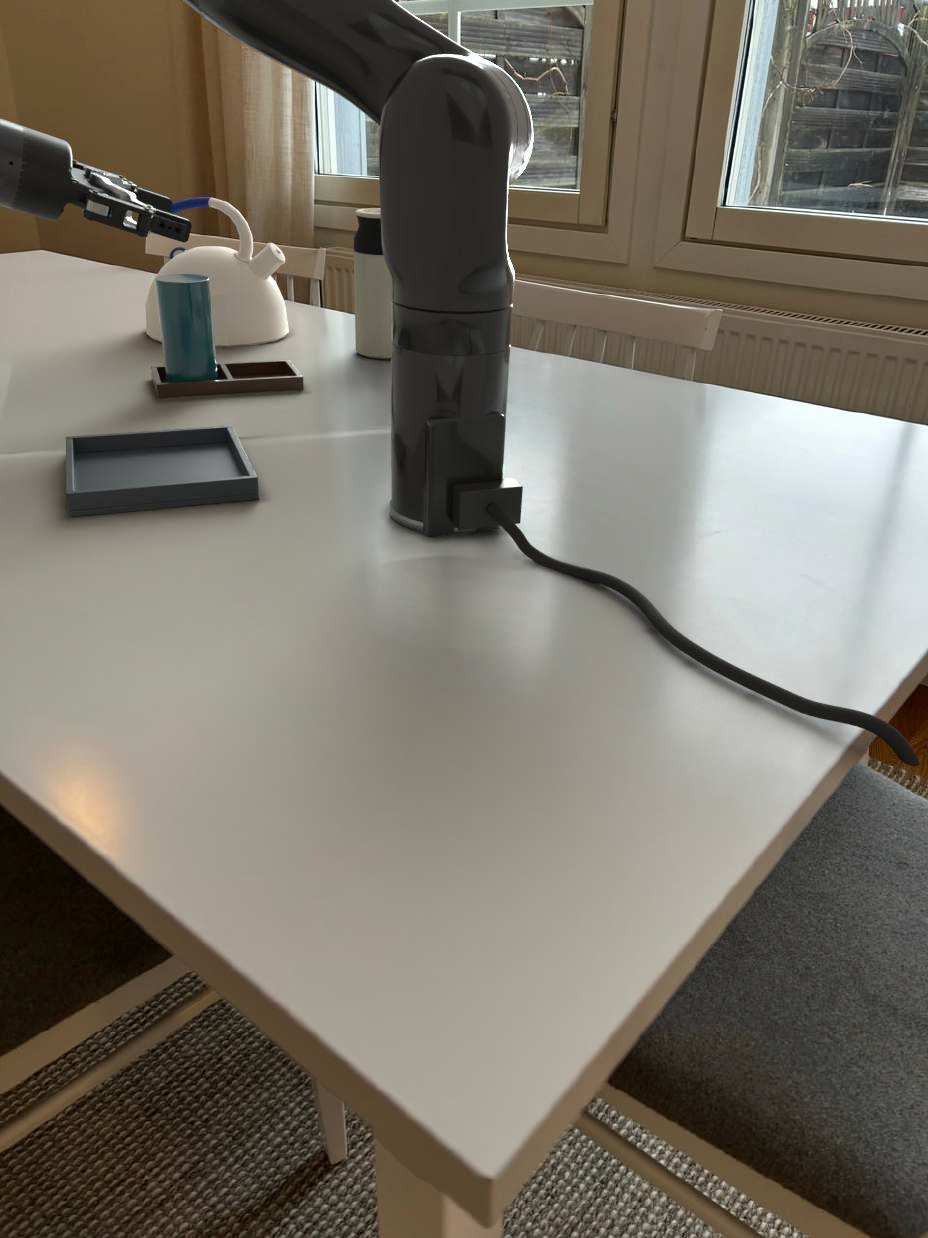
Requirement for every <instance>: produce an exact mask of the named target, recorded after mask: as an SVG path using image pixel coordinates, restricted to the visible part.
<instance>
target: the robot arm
mask: <svg viewBox="0 0 928 1238" xmlns="http://www.w3.org/2000/svg"><path fill="white" fill-rule="evenodd" d="M181 1H182V2H183V3H184V4H186V6H188V7H189V8H191V9H192V10H193V11H194V12H196V13H197V14H198V15H200V16H201V17H202V18H204V19H205V20H206V21H207V22H208V23H210V24H211V25H212V26H214V27H215V28H216V29H218V30H220V31H221V32H223V33H224V34H226V35H227V36H228V37H230V38H232V39H234V40H235V41H236V42H238V43H240V44H242V45H243V46H245V47H248V48H249V49H251V50H253V51H254V52H256V53H258V54H260V55H262V56H264V57H266V58H268V59H269V60H272V61H273V62H275V63H277V64H279V65H281V66H283V67H284V68H286V69H289V70H291V71H293V72H295V73H297V74H299V75H301V76H303V77H305V78H307V79H310V80H311V81H313V82H315V83H317V84H320V85H322V86H323V87H325V88H327V89H329V90H330V91H332V92H333V93H335V94H338V95H339V96H341V97H342V98H343V99H345V100H346V101H348V102H349V103H350V104H351V105H353V106H354V107H356V108H357V109H359V111H360V112H362V113H363V114H364V115H366V116H367V117H368V118H369V119H370V120H372V121H373V122H374V123H375V124H376V125H377V126H378V127H379V132H378V184H379V208H380V212H381V236H382V249H383V255H384V260H385V263H386V266H387V269H388V271H389V274H390V279H391V299H392V301H391V359H390V469H391V470H390V476H391V478H390V480H391V481H390V484H391V485H390V486H391V488H390V489H391V491H390V492H391V493H390V494H391V495H390V496H391V498H390V501H389V513H390V517H392V519H393V520H394V521H395V522H397V523H399V525H402V526H403V527H406V528H408V529H412V530H415V531H419V532H422V533H424V534H425V535H426V537H428V538H437V537H444V536H452V535H453V536H454V535H462V534H471V533H480V532H488V531H496V530H497V531H498V530H500V529H501V528H502V529H503V530H504V531H505V532H506V533H507V534H508V535H509V536H510V537H511V539H512V540H513V542H514V543H515V544H516V546H517V548H518V549H519V550H520V552H521V553H522V554H523V555H524V556H525V557H528V558H529V559H530V560H532V561H533V562H535V563H536V564H538V565H540V566H542V567H546V568H548V569H549V570H554V571H556V572H559V573H562V574H565V575H567V576H571V577H574V578H577V579H580V580H585V581H589V582H592V583H596V584H599V585H602V586H605V587H606V588H609V589H612V590H613V591H614V592H615V591H616V592H617V593H619V594H620V595H621V596H623V597H625V598H626V599H627V600H628V601H630V602H631V603H632V604H633V605H635V606H636V608H638V610H640V612H641V613H642V614H643V615H644V617H645V618H646V619H647V620H648V621H649V622H650V624H651V625H652V626H653V627H654V628H655V629H656V631H657V632H658V633H659V634H660V635H662V637H663V638H664V639H665V640H667V641H668V642H669V643H670V644H671V645H673V646H674V647H675V648H677V649H678V650H679V651H680V652H682V653H683V654H685V655H687V656H688V657H690V658H691V659H693V660H694V661H696V662H698V663H699V664H701V665H702V666H704V667H706V668H708V669H710V670H711V671H712V672H715V673H716V674H719V675H720V676H722V677H725V678H726V679H728V680H730V681H732V682H734V683H736V684H737V685H739V686H742V687H744V688H746V689H748V690H750V691H752V692H754V693H757V694H758V695H760V696H762V697H764V698H767V699H769V700H771V701H774V702H775V703H777V704H780V705H782V706H784V707H787V708H788V709H791V710H793V711H795V712H797V713H800V714H803V715H806V716H809V717H814V718H817V719H821V720H825V721H831V722H836V723H840V724H843V725H849V726H854V727H857V728H860V729H863V730H866V731H868V732H870V733H872V734H874V735H876V736H877V737H879V738H880V739H881V740H882V741H884V742H885V743H886V744H887V745H888V746H889V747H890V748H891V749H892V751H893V752H894V753H895V755H896V756H897V758H898V760H899V761H901V762H902V763H903V764H905V765H908V766H910V767H918V766H920V765H921V764H920V761H919V758H918V756H917V754H916V752H915V750H914V748H913V747H912V746H911V744H910V743H909V742H908V740H907V739H906V738H905V737H904V736H903V735H902V733H901V732H900V731H899V730H897V729H896V727H894V726H893V725H891V724H890V723H888V722H886V721H885V720H883V719H881V718H880V717H877V716H875V715H873V714H871V713H868V712H864V711H860V710H858V709H852V708H849V707H844V706H838V705H832V704H828V703H824V702H818V701H815V700H812V699H809V698H806V697H803V696H801V695H799V694H796V693H794V692H792V691H790V690H787V689H786V688H783V687H781V686H778V685H776V684H774V683H772V682H769V681H768V680H766V679H763V678H761V677H759V676H757V675H755V674H753V673H750V672H749V671H746V670H744V669H742V668H741V667H738V666H736V665H735V664H732V663H730V662H728V661H727V660H725V659H722V658H720V657H719V656H717V655H715V654H714V653H712V652H710V651H709V650H707V649H705V648H704V647H702V646H701V645H699V644H698V643H696V642H694V641H693V640H692V639H689V638H688V637H686V636H685V635H684V634H682V632H680V631H679V630H677V629H676V628H675V627H674V626H673V625H672V624H671V623H670V622H668V620H667V619H666V618H665V617H664V616H663V614H661V612H660V611H659V610H658V609H657V607H655V605H654V604H653V603H652V602H651V601H650V599H648V598H647V597H646V596H645V595H644V594H643V593H642V592H640V591H639V590H638V589H637V588H636V587H634V586H632V585H631V584H629V583H628V582H626V581H624V580H622V579H621V578H619V577H618V576H615V575H612V574H609V573H607V572H603V571H600V570H595V569H592V568H589V567H585V566H584V567H583V566H579V565H574V564H571V563H567V562H563V561H561V560H558V559H556V558H553V557H552V556H549V555H547V554H546V553H543V552H542V551H540V550H539V549H537V548H536V547H535V546H533V545H532V544H531V542H529V540H528V539H527V537H526V536H525V534H524V533H523V531H522V529H520V527H518V525H519V524H521V519H522V505H523V493H524V492H523V491H524V490H523V489H524V486H523V485H522V484H521V483H520V482H519V481H518V480H516V479H515V478H513V477H508V478H504V471H505V463H504V462H505V461H504V460H505V445H506V429H507V412H508V411H507V410H508V392H509V377H510V376H509V375H510V360H511V344H512V330H513V329H512V328H513V311H514V310H513V309H514V305H513V304H514V295H515V269H514V267H513V264H512V262H511V259H510V257H509V251H508V243H507V229H508V227H507V225H508V200H509V199H508V198H509V197H508V195H509V186H510V185H513V183H514V182H515V181H516V180H517V179H518V178H519V177H520V176H521V174H522V173H523V171H524V170H525V169H526V166H527V164H528V162H529V159H530V157H531V154H532V149H533V143H534V128H533V120H532V115H531V109H530V107H529V104H528V102H527V100H526V98H525V96H524V93H523V91H522V90H521V88H520V87H519V85H518V84H517V83H516V81H515V80H514V79H513V78H512V77H511V76H510V75H509V74H508V73H507V72H506V71H505V70H504V69H503V68H501V67H499V66H498V65H496V64H494V63H493V62H491V61H489V60H487V59H485V58H483V57H481V56H479V55H478V54H476V53H474V52H472V51H471V50H470V49H468V48H465V47H464V46H462V45H461V44H459V43H457V42H456V41H454V40H452V39H451V38H449V37H447V36H446V35H445V34H443V33H442V32H440V31H439V30H437V29H435V28H434V27H432V26H431V25H429V24H428V23H426V22H425V21H423V20H421V18H418V17H417V16H415V15H414V14H413V13H412V12H410V11H408V10H407V9H406V8H404V7H403V6H401V5H400V4H399V3H397V1H395V0H181ZM173 203H174V202H173V200H172V199H171V198H170V197H168V196H166V195H162V194H160V193H156V192H153V191H150V190H147V189H144V188H142V187H137V185H136V184H135V183H134V182H133V181H130V180H128V179H127V178H126V177H125V176H124V175H121V174H115V173H113V172H109V171H106V170H103V169H100V168H97V167H94V166H91V165H87V164H85V163H82V162H79V161H77V160H76V159H73V151H72V147H71V145H70V144H69V142H68V141H66V140H64V139H61V138H58V137H55V136H52V135H50V134H47V133H44V132H41V131H38V130H35V129H32V128H29V127H27V126H24V125H21V124H18V123H15V122H12V121H10V120H6V119H4V118H2V117H0V207H3V208H7V209H9V210H13V211H17V212H19V213H24V214H27V215H31V216H33V217H37V218H40V219H44V220H47V221H50V222H56V221H59V220H60V219H61V217H62V215H63V214H64V209H65V207H66V205H68V204H71V205H73V206H75V207H78V208H80V209H82V212H81V213H82V214H83V217H84V218H85V219H86V220H88V221H91V222H92V221H93V222H96V223H99V224H102V225H106V226H109V227H112V228H114V229H118V230H121V231H125V232H127V233H131V234H133V235H137V236H138V237H140V238H148V237H149V235H151V233H152V234H155V235H157V236H161V237H164V238H168V239H171V240H174V241H177V242H180V243H187V242H188V241H189V239H190V235H191V230H192V227H193V225H192V222H191V221H190V220H189V219H188V218H186V217H183V216H179V215H176V214H170V213H171V209H172V205H173ZM133 213H136V214H138V217H137V221H136V220H134V219H133V218H132V215H133ZM500 527H501V528H500Z"/></svg>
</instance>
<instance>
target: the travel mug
mask: <svg viewBox="0 0 928 1238" xmlns="http://www.w3.org/2000/svg"><path fill="white" fill-rule="evenodd" d="M354 214H355V215H356V218H357V222H358V228H357V229H356V232H355V234H354V236H353V279H354V281H353V282H354V331H355V334H354V335H355V336H354V337H355V352H356V353H357V354H359V355H360V356H363V357H365V358H369V359H375V360H391V301H392V299H391V279H390V274H389V271H388V269H387V266H386V263H385V260H384V255H383V249H382V236H381V212H380V207H377V208H376V207H375V208H374V207H370V208H359V209H355V211H354Z"/></svg>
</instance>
